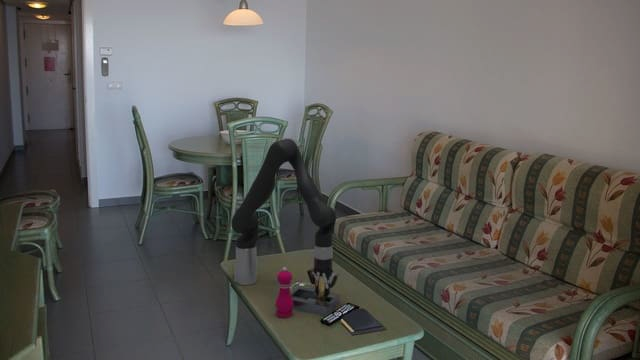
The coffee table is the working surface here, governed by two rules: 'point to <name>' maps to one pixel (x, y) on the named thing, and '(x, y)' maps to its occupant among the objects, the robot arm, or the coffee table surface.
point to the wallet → (361, 322)
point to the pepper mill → (284, 294)
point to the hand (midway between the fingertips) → (322, 294)
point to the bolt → (321, 289)
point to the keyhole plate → (314, 301)
